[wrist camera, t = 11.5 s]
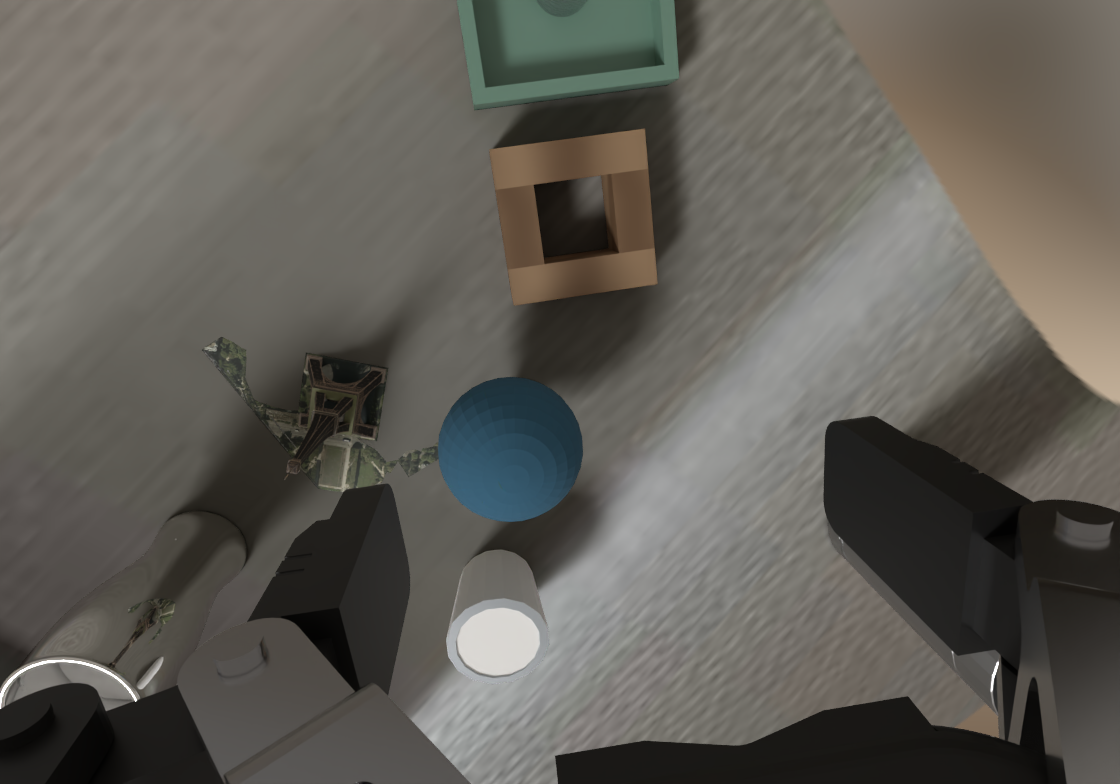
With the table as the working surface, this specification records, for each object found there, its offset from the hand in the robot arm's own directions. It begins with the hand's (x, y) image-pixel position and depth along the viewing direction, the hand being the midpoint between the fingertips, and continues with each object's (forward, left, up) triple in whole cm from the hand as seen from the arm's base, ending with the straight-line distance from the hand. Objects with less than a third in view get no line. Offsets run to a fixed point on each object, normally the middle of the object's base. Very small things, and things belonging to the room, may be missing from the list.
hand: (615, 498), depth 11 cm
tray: (-5, -16, -32) cm, 36 cm away
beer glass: (+25, +16, -32) cm, 44 cm away
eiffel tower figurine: (+14, +6, -32) cm, 36 cm away
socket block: (-4, -3, -32) cm, 32 cm away
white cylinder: (+5, +23, -32) cm, 39 cm away
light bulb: (+2, +9, -32) cm, 33 cm away
